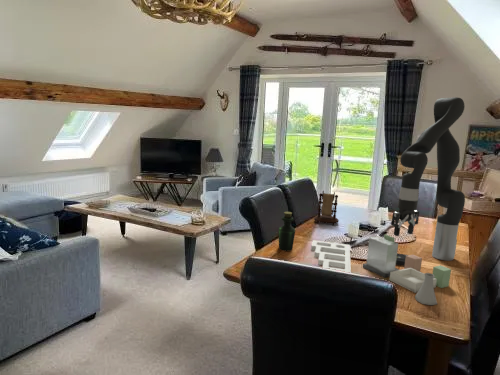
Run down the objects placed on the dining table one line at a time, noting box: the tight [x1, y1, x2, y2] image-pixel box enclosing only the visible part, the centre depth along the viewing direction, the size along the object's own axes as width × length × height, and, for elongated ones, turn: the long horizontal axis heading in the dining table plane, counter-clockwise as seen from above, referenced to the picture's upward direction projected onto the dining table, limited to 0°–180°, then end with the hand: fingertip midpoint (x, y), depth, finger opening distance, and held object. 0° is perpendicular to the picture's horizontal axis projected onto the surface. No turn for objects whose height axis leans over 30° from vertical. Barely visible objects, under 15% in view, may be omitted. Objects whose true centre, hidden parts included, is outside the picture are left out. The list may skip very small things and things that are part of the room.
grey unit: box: [362, 234, 400, 279], centre depth 159 cm, size 10×12×15 cm
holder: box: [310, 239, 352, 274], centre depth 166 cm, size 45×18×3 cm, turn 166°
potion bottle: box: [278, 211, 296, 252], centre depth 179 cm, size 8×8×18 cm
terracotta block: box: [403, 254, 423, 272], centre depth 159 cm, size 4×4×7 cm
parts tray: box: [389, 268, 437, 294], centre depth 148 cm, size 12×12×4 cm
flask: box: [414, 272, 438, 306], centre depth 133 cm, size 7×7×10 cm
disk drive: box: [395, 252, 409, 267], centre depth 172 cm, size 10×3×15 cm
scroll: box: [313, 190, 339, 226], centre depth 231 cm, size 15×15×20 cm
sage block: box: [431, 264, 452, 289], centre depth 148 cm, size 4×4×7 cm
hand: (403, 234), depth 163 cm, fingers open, 8 cm apart
